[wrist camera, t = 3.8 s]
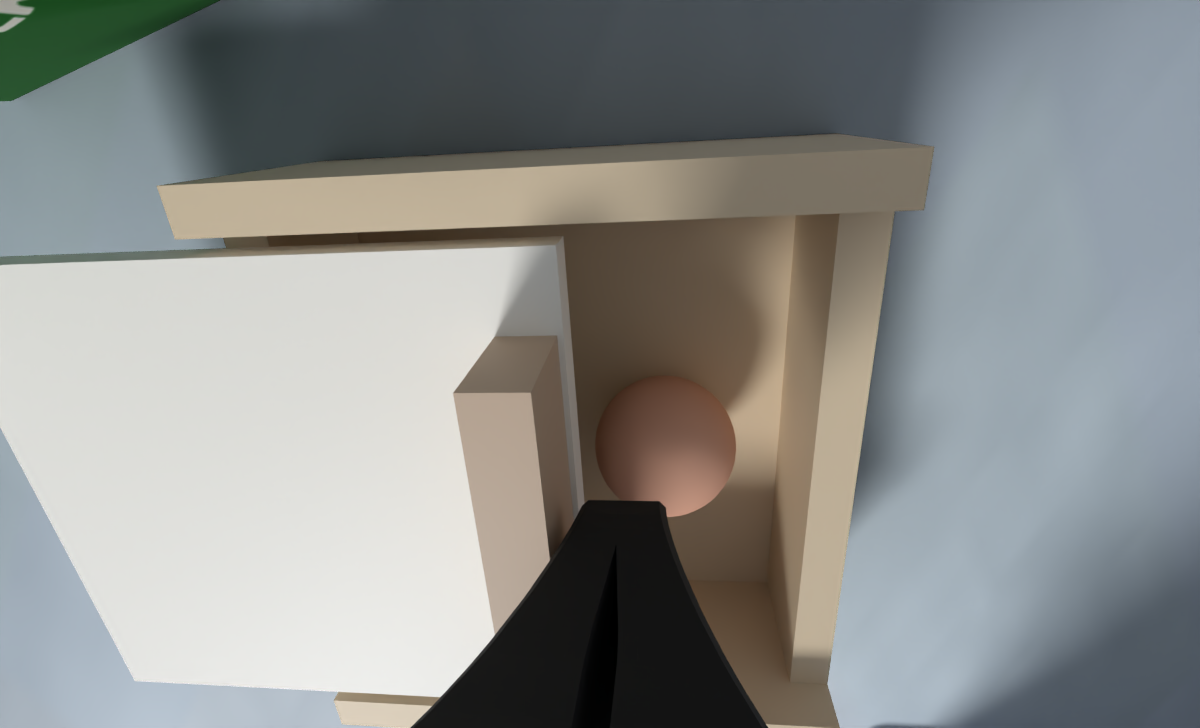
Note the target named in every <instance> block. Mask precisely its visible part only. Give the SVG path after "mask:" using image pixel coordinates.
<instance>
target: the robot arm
mask: <svg viewBox="0 0 1200 728" xmlns="http://www.w3.org/2000/svg"><path fill="white" fill-rule="evenodd" d="M411 728H768V726H767V725H766V723H765V722H764V720H763V719H762V717H761V715H760V714H759V712H758V711H757V709H756V707H755V706H754V704H753V703H752V701H751V699H750V698H749V696H748V694H747V693H746V691H745V690H744V688H743V686H742V684H741V683H740V681H739V679H738V678H737V676H736V674H735V672H734V671H733V669H732V667H731V665H730V664H729V662H728V660H727V658H726V656H725V655H724V653H723V651H722V649H721V647H720V645H719V643H718V641H717V639H716V638H715V636H714V634H713V632H712V630H711V628H710V626H709V624H708V622H707V620H706V618H705V616H704V614H703V612H702V610H701V608H700V606H699V603H698V601H697V599H696V597H695V594H694V592H693V590H692V588H691V585H690V583H689V581H688V579H687V576H686V574H685V572H684V569H683V567H682V564H681V562H680V559H679V556H678V553H677V550H676V548H675V545H674V542H673V538H672V535H671V532H670V528H669V524H668V519H667V514H666V507H665V506H664V505H663V504H662V503H661V502H660V501H622V500H588V501H587V502H586V503H585V504H583V505H582V507H581V509H580V511H579V513H578V515H577V516H576V518H575V520H574V522H573V524H572V525H571V527H570V529H569V531H568V532H567V534H566V536H565V537H564V539H563V541H562V542H561V544H560V545H559V547H558V548H557V550H556V552H555V553H554V555H553V556H552V558H551V559H550V561H549V562H548V564H547V565H546V567H545V568H544V570H543V571H542V573H541V574H540V575H539V577H538V578H537V580H536V581H535V583H534V584H533V586H532V587H531V588H530V590H529V591H528V593H527V594H526V595H525V597H524V598H523V600H522V601H521V602H520V604H519V605H518V606H517V607H516V609H515V610H514V611H513V612H512V614H511V615H510V616H509V618H508V619H507V620H506V621H505V623H504V624H503V625H502V627H501V628H500V629H499V630H498V632H497V633H496V634H495V636H494V637H493V638H492V639H491V641H490V642H489V643H488V644H487V645H486V647H485V648H484V649H483V650H482V651H481V653H480V654H479V655H478V656H477V657H476V658H475V660H474V661H473V662H472V663H471V664H470V665H469V666H468V668H467V669H466V670H465V671H464V672H463V673H462V674H461V675H460V677H459V678H458V679H457V680H456V681H455V682H454V683H453V684H452V685H451V686H450V687H449V689H448V690H447V691H446V692H445V693H444V694H443V695H442V696H441V697H440V698H439V699H438V700H437V701H436V702H435V704H434V705H433V706H432V707H431V708H430V709H429V710H428V711H427V712H426V713H425V714H424V715H423V716H422V717H421V718H420V719H419V720H418V721H417V722H416V723H415V724H414V725H413V726H412V727H411Z"/></svg>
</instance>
